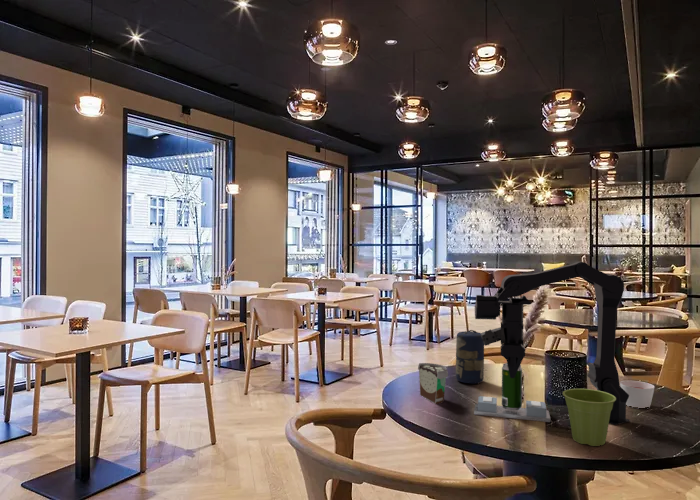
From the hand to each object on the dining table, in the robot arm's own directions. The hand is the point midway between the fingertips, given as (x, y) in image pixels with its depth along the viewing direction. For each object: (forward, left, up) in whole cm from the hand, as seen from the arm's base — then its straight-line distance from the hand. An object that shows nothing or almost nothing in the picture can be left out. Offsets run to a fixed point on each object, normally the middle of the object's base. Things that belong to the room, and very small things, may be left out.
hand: (512, 375), depth 144 cm
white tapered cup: (-11, -40, -11) cm, 43 cm away
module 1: (+5, +5, -10) cm, 12 cm away
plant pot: (-23, -2, -11) cm, 26 cm away
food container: (+21, +10, -11) cm, 26 cm away
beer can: (0, 0, -9) cm, 9 cm away
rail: (0, 0, -11) cm, 11 cm away
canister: (+32, -13, -11) cm, 36 cm away
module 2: (-5, -4, -11) cm, 13 cm away
